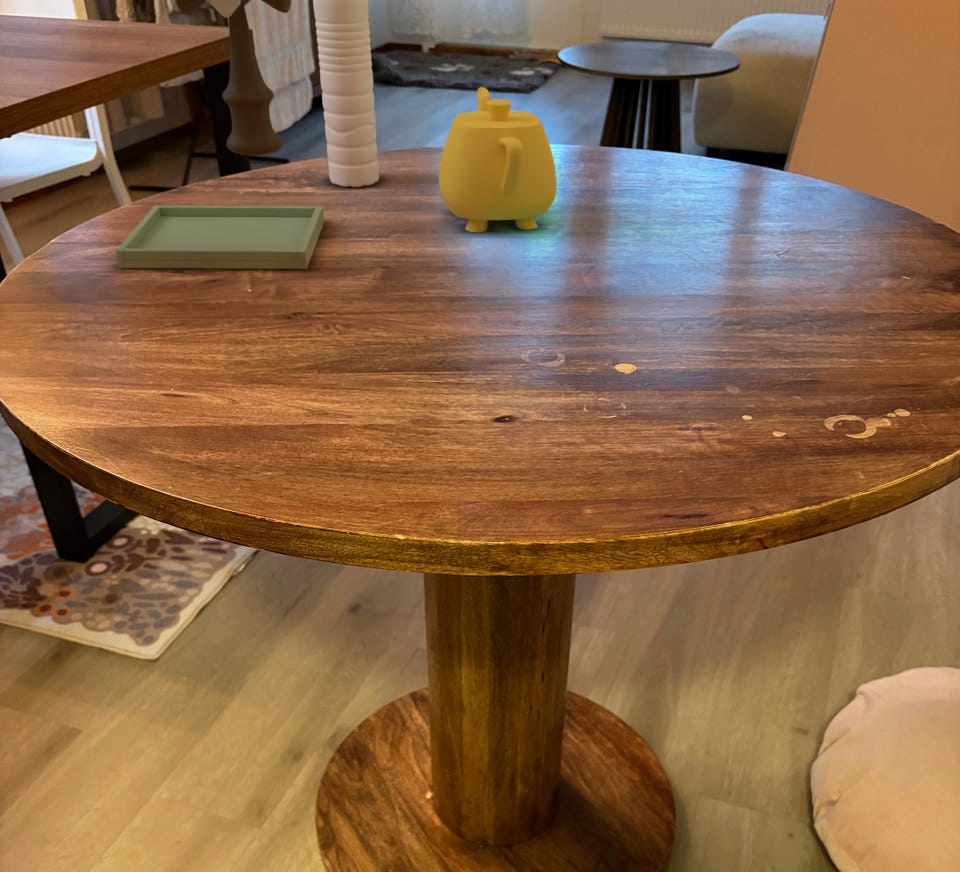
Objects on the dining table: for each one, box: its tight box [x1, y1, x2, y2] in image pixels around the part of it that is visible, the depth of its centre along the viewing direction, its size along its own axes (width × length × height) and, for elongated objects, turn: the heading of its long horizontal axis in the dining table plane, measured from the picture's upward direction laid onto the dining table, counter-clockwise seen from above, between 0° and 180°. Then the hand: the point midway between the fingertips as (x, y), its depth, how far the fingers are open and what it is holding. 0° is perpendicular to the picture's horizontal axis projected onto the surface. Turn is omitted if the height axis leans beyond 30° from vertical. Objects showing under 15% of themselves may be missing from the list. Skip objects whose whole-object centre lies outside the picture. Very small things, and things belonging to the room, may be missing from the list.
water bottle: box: [312, 0, 380, 188], centre depth 112 cm, size 9×6×25 cm
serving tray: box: [115, 204, 325, 270], centre depth 101 cm, size 20×16×2 cm
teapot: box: [438, 86, 558, 233], centre depth 105 cm, size 13×20×12 cm
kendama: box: [174, 0, 292, 157], centre depth 79 cm, size 6×10×20 cm, turn 91°
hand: (243, 4), depth 78 cm, fingers closed on kendama, 5 cm apart
